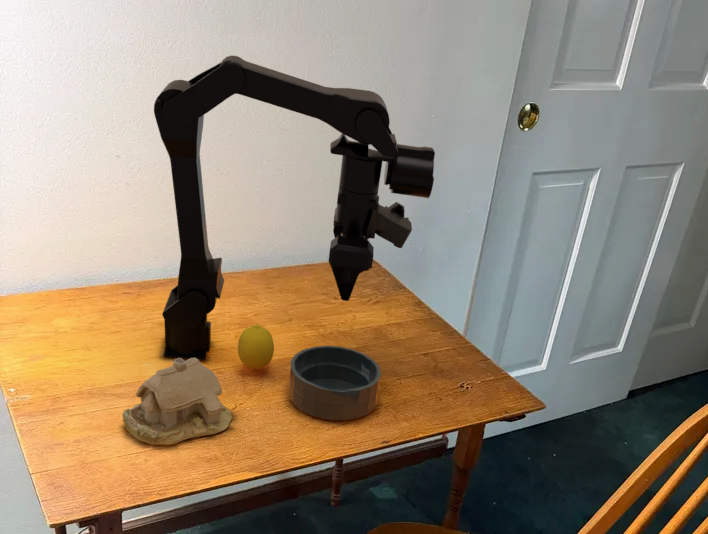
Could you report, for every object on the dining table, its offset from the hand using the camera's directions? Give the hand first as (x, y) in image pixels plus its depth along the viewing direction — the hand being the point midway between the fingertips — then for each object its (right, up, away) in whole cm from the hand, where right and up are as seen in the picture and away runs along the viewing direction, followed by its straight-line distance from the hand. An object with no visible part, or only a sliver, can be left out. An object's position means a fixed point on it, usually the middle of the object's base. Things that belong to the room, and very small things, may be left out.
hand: (346, 287), depth 123 cm
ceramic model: (-22, -22, -12) cm, 34 cm away
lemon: (-15, -13, +2) cm, 20 cm away
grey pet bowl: (-2, -17, -1) cm, 17 cm away
